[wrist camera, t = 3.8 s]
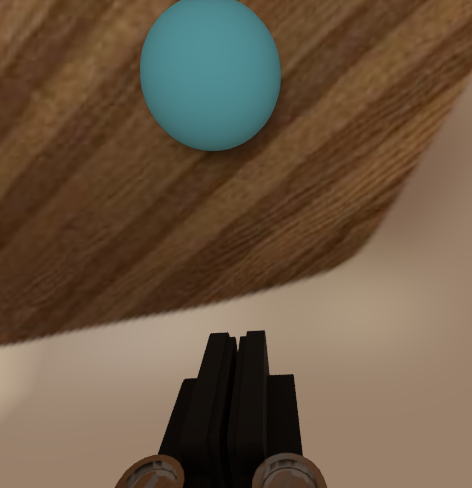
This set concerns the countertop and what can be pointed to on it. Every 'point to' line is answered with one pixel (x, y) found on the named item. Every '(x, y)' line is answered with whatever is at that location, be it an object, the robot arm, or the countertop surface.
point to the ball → (210, 73)
